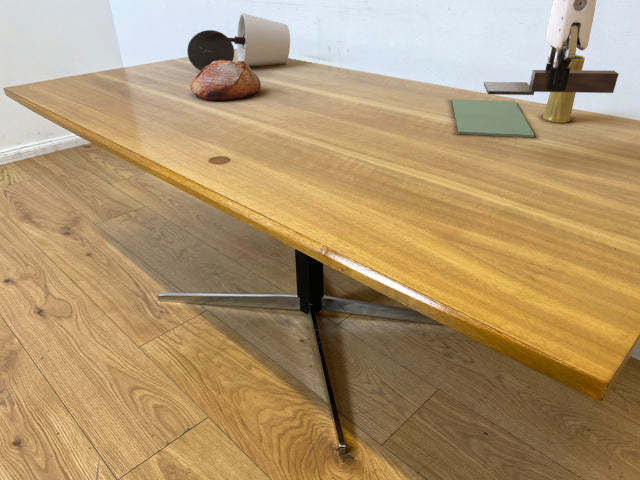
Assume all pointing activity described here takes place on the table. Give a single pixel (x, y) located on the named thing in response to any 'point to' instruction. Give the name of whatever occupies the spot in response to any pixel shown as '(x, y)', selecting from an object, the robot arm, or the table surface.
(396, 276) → the table surface
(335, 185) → the table surface
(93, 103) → the table surface
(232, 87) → the bread
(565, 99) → the vase
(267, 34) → the light fixture
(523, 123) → the mat
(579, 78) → the spatula
